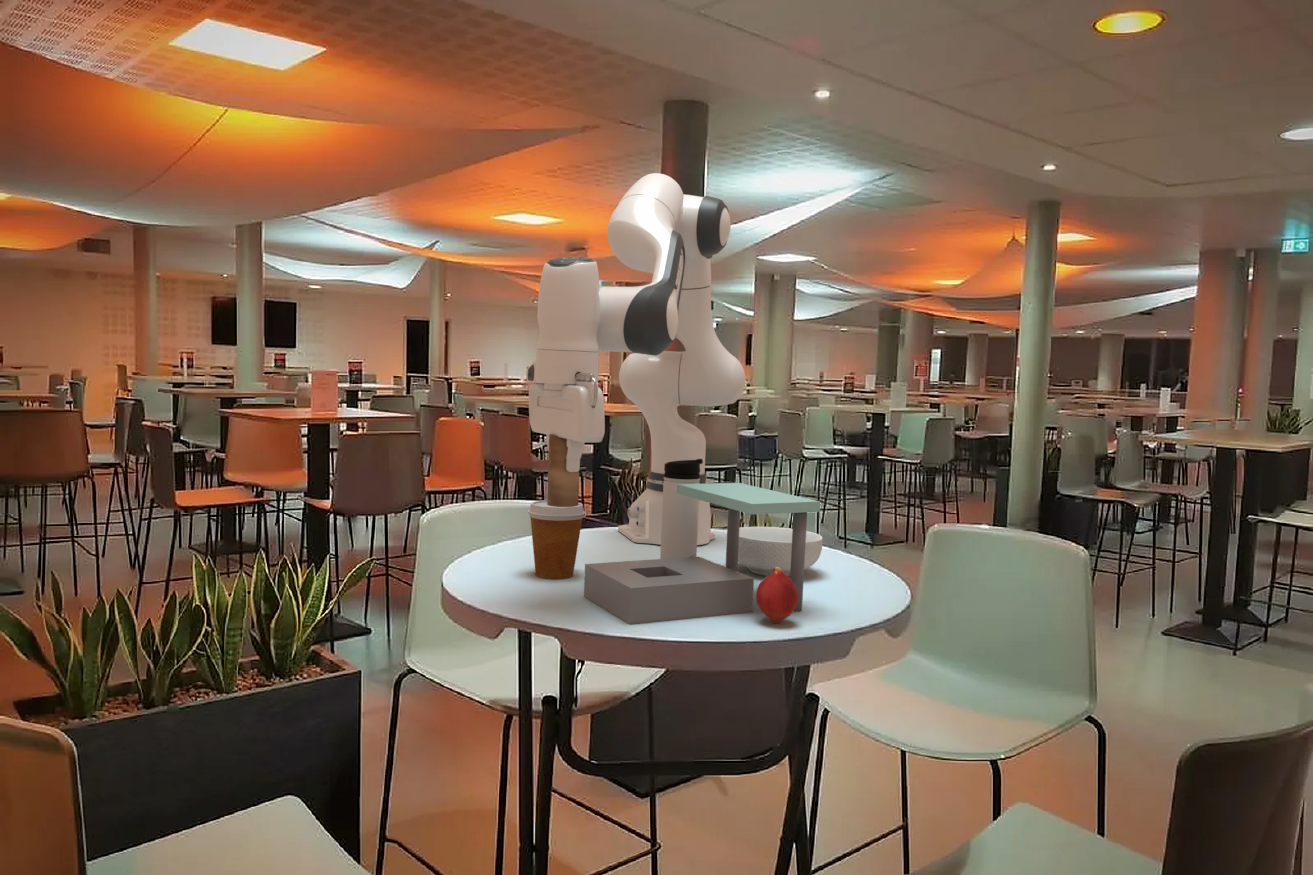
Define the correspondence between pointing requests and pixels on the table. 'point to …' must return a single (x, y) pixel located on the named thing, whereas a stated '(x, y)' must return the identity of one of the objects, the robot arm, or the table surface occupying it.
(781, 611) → the onion
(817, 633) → the table surface
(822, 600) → the table surface
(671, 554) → the travel mug
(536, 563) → the disposable coffee cup
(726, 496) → the awning
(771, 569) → the cereal bowl
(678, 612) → the socket block
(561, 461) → the walnut peg
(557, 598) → the table surface
